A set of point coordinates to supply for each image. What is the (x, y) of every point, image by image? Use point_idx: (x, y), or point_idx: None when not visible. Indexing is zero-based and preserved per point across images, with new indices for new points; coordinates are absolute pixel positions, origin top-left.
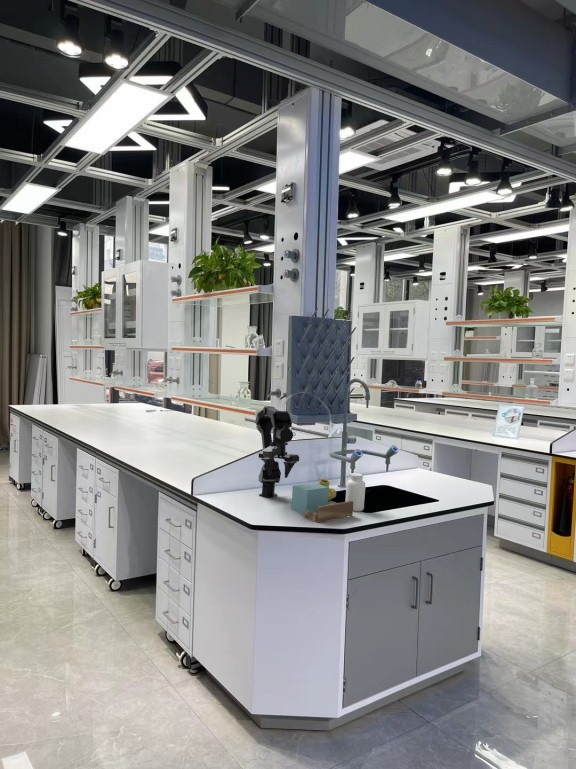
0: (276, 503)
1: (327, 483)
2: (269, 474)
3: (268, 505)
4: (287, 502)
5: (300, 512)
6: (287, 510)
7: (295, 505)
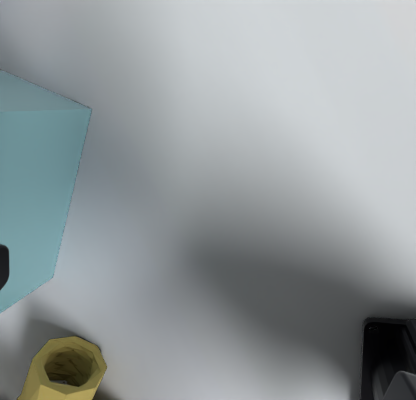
0: (251, 188)
1: None
2: (400, 383)
3: (274, 85)
4: (200, 263)
5: (9, 73)
6: (91, 56)
7: (27, 91)
